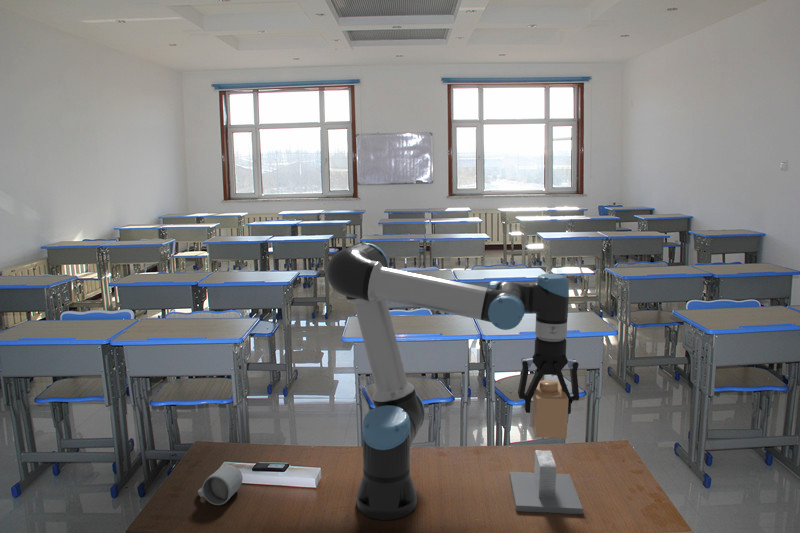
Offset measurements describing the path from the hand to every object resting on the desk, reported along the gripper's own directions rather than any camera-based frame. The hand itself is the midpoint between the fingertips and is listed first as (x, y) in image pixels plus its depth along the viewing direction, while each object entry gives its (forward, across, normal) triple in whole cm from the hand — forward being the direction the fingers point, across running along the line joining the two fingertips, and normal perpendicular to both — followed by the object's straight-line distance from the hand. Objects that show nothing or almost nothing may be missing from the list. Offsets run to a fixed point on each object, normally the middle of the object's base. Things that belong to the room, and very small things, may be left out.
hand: (546, 424), depth 145 cm
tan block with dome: (+1, 0, 0) cm, 1 cm away
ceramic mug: (+20, -83, -7) cm, 86 cm away
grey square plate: (+19, 0, 0) cm, 19 cm away
